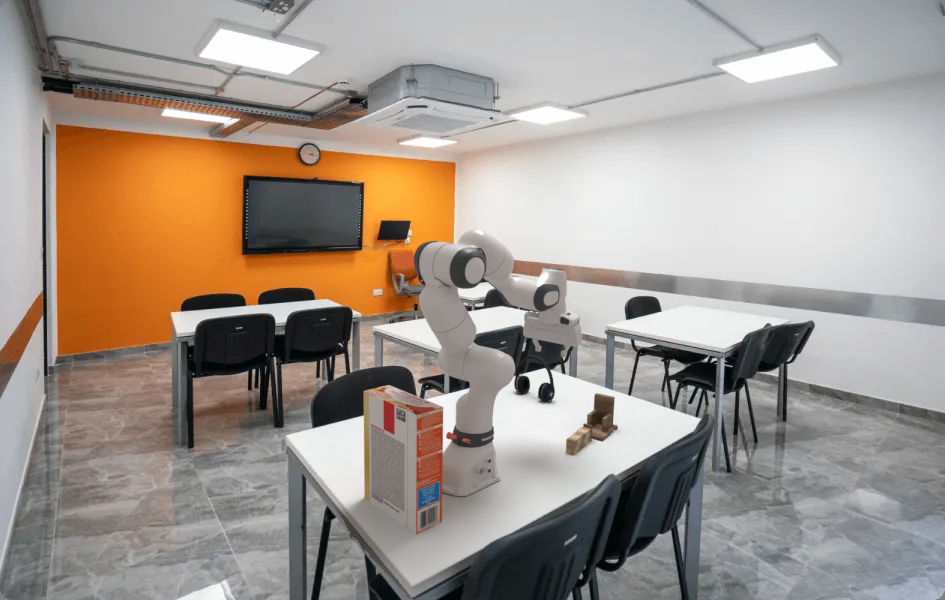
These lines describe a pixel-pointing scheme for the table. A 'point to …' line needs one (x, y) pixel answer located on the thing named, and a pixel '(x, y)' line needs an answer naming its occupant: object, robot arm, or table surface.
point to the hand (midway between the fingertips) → (550, 353)
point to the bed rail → (579, 439)
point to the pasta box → (403, 456)
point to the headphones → (523, 382)
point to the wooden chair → (602, 417)
